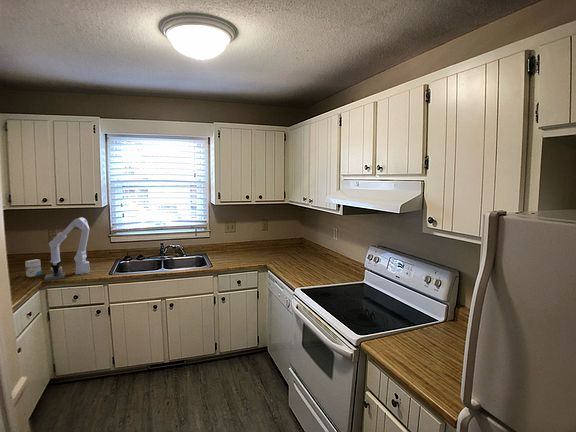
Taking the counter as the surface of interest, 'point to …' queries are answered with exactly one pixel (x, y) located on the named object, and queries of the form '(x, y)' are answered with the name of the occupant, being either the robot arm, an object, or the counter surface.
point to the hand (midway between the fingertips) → (56, 271)
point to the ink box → (33, 267)
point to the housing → (58, 270)
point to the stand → (54, 276)
